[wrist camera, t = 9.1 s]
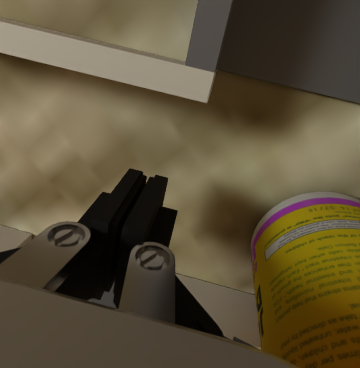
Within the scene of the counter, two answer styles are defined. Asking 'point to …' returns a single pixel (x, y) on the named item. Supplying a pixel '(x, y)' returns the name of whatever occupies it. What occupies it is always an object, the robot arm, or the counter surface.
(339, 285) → the supplement bottle
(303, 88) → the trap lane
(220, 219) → the counter surface
